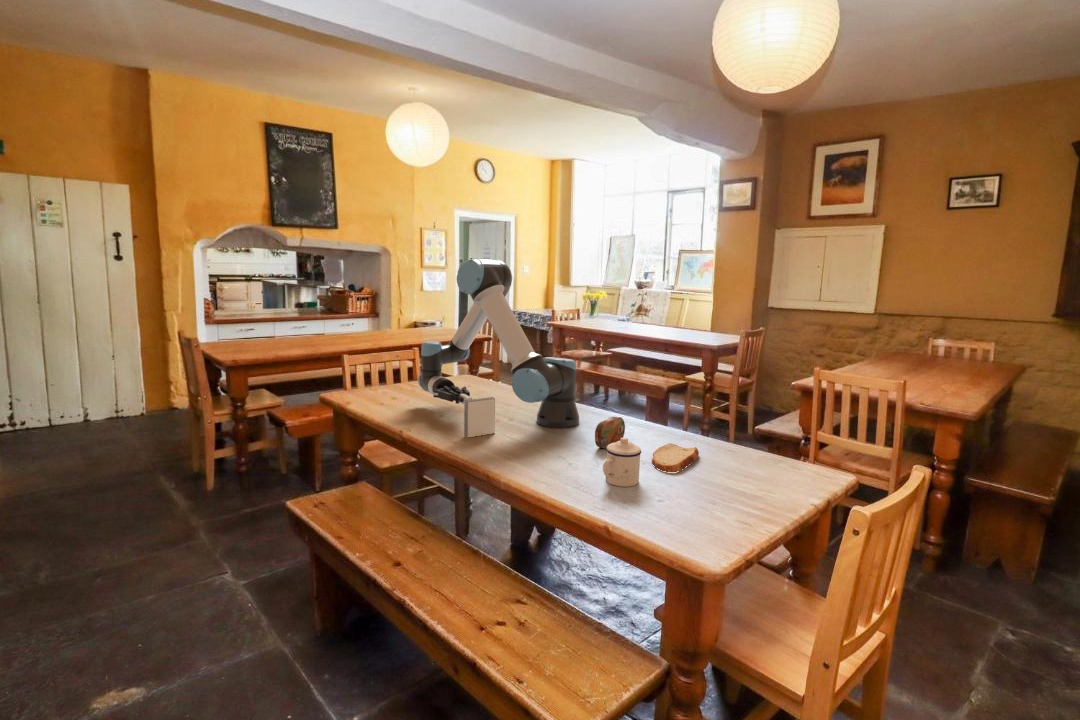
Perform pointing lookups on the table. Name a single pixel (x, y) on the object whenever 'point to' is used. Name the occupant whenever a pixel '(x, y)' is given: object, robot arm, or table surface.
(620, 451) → the teacup with lid
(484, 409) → the ceramic tile
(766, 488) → the table surface
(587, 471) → the table surface
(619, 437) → the tin
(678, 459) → the bread slice
